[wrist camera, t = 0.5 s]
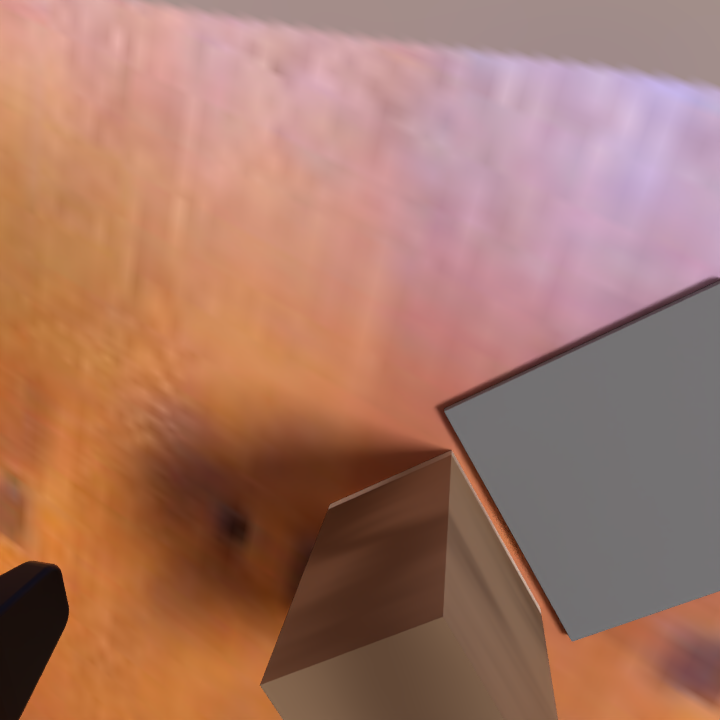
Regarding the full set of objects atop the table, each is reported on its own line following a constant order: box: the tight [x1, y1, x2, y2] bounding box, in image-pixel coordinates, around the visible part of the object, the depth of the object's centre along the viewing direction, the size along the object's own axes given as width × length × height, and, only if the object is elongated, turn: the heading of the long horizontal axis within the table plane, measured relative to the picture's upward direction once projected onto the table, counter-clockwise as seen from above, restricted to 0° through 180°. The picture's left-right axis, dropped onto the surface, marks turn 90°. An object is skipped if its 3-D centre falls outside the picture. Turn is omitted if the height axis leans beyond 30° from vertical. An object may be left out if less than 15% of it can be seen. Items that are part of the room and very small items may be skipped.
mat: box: [444, 281, 720, 641], centre depth 23 cm, size 10×10×1 cm
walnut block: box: [260, 450, 558, 720], centre depth 21 cm, size 5×7×9 cm
